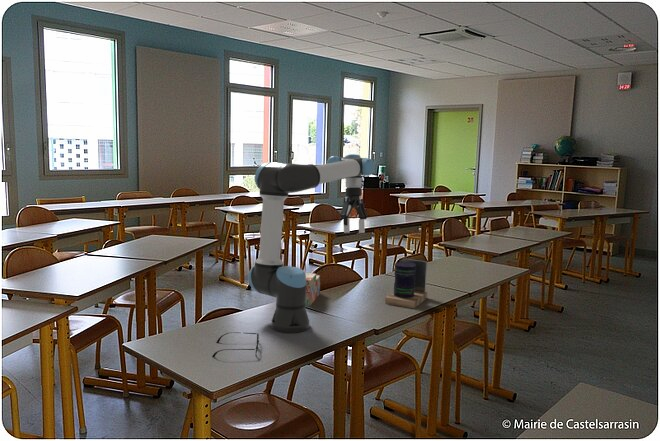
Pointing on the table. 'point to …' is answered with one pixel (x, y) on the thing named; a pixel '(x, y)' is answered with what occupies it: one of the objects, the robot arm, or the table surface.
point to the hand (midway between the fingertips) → (354, 232)
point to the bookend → (419, 274)
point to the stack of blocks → (312, 288)
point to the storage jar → (404, 279)
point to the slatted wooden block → (407, 300)
